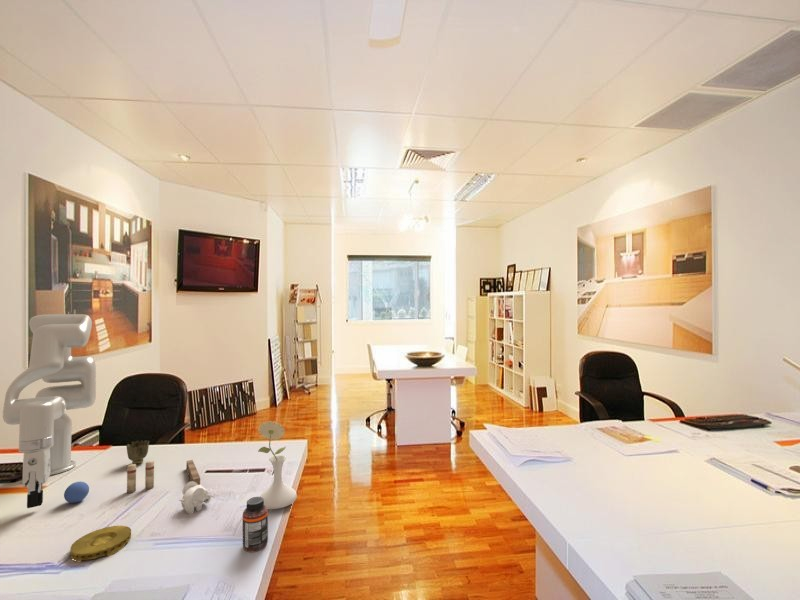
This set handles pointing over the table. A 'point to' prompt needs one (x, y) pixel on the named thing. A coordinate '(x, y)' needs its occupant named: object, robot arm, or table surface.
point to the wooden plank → (192, 472)
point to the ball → (76, 492)
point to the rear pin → (149, 475)
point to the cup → (137, 451)
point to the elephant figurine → (194, 497)
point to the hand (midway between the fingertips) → (34, 505)
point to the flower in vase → (276, 470)
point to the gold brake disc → (100, 543)
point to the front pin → (131, 478)
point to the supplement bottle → (255, 525)
